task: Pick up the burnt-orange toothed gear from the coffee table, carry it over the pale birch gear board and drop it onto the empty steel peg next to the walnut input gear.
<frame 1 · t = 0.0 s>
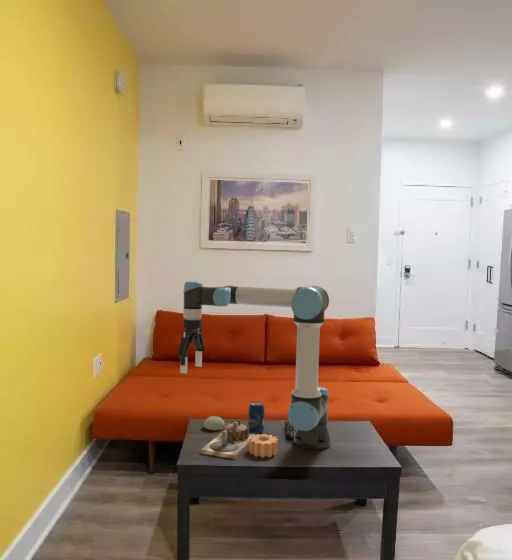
hand: (191, 369, 205), 28 cm above the table, fingers open, 13 cm apart
sea urchin shell: (214, 428, 217), on the table
soda can: (255, 431, 215), on the table
gear board: (229, 445, 198), on the table
loose gear: (263, 451, 192), on the table
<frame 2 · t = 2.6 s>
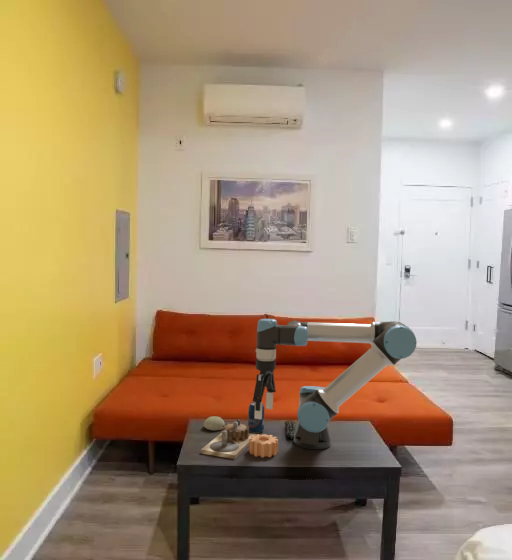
hand: (263, 413, 191), 15 cm above the table, fingers open, 13 cm apart
nothing on the table moved.
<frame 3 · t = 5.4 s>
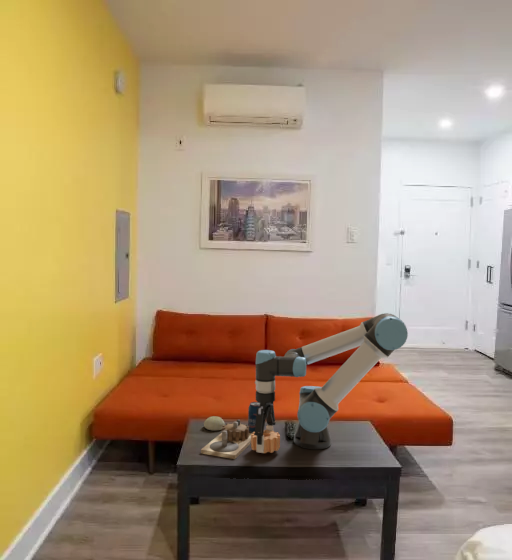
hand: (265, 446, 192), 2 cm above the table, fingers closed on loose gear, 11 cm apart
loose gear: (265, 447, 192), point 2 cm above the table, touching gripper
everything else where it was.
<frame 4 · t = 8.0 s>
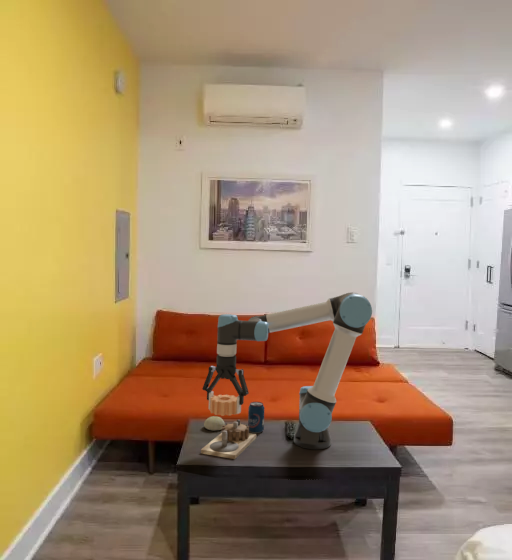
hand: (224, 410, 191), 16 cm above the table, fingers closed on loose gear, 11 cm apart
loose gear: (224, 411, 191), point 15 cm above the table, touching gripper
everything else where it was.
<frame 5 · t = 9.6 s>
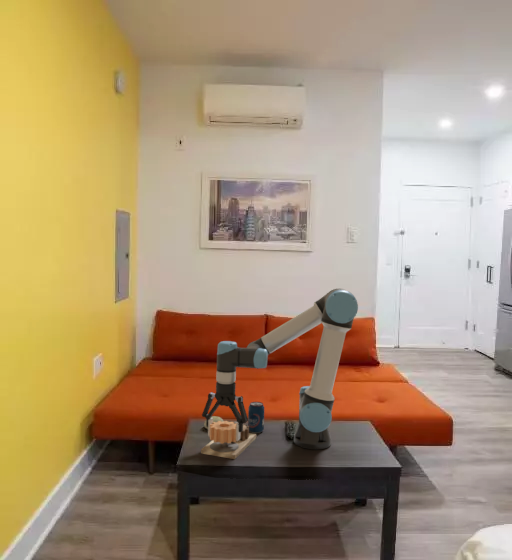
hand: (224, 437, 192), 5 cm above the table, fingers closed on loose gear, 11 cm apart
loose gear: (223, 438, 192), point 5 cm above the table, touching gripper
everything else where it was.
when the fingers open (3 cm above the table, at t = 10.7 s): loose gear stays where it is, resting on gear board.
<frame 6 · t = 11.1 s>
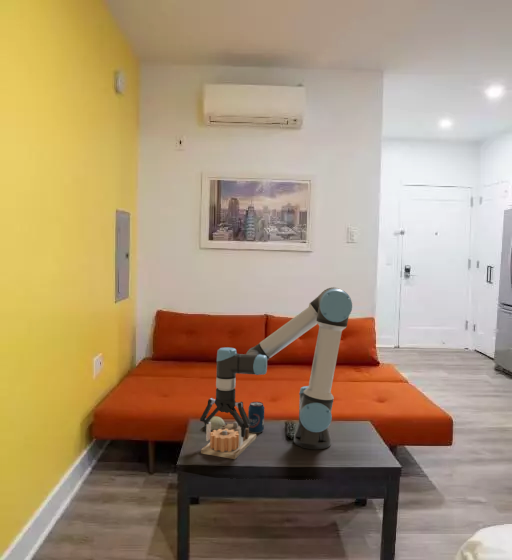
hand: (224, 442, 192), 3 cm above the table, fingers open, 13 cm apart
loose gear: (224, 446, 192), point 2 cm above the table, touching gear board
everything else where it was.
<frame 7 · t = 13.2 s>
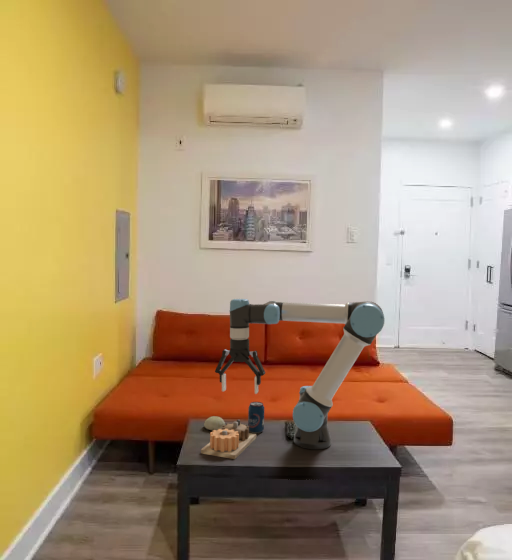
hand: (240, 391, 195), 22 cm above the table, fingers open, 13 cm apart
nothing on the table moved.
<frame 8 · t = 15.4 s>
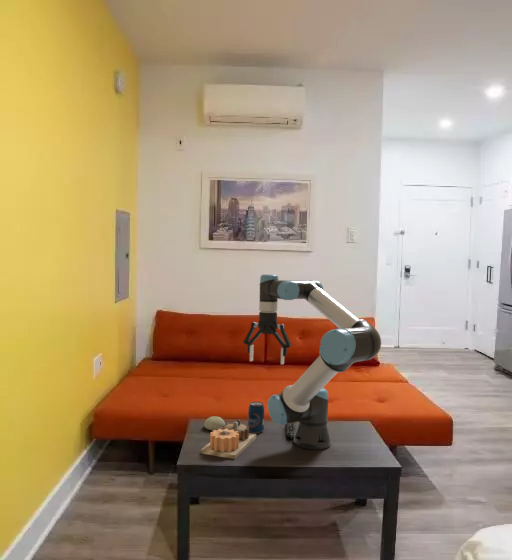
hand: (266, 362, 206), 32 cm above the table, fingers open, 13 cm apart
nothing on the table moved.
at the end: loose gear 0.1 cm from the target spot on the gear board, point 1.7 cm above the gear board's base; loose gear tilted 0°; the gripper is holding nothing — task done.
